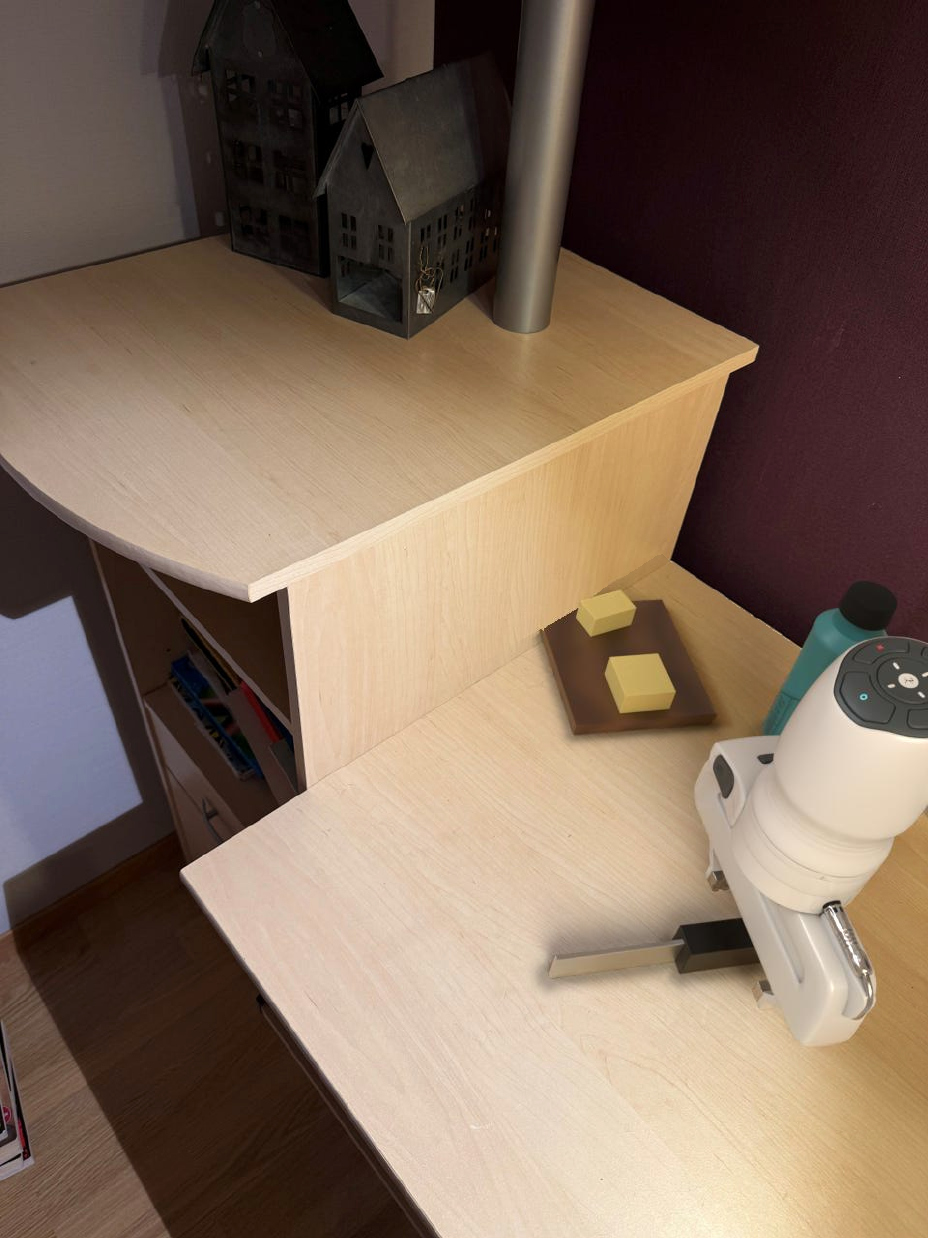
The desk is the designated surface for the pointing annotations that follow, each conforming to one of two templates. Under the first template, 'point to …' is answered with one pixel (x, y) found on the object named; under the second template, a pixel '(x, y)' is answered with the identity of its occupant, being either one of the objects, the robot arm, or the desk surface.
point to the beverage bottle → (832, 644)
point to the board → (650, 633)
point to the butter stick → (639, 683)
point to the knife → (670, 951)
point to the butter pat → (605, 612)
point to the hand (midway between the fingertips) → (739, 938)
